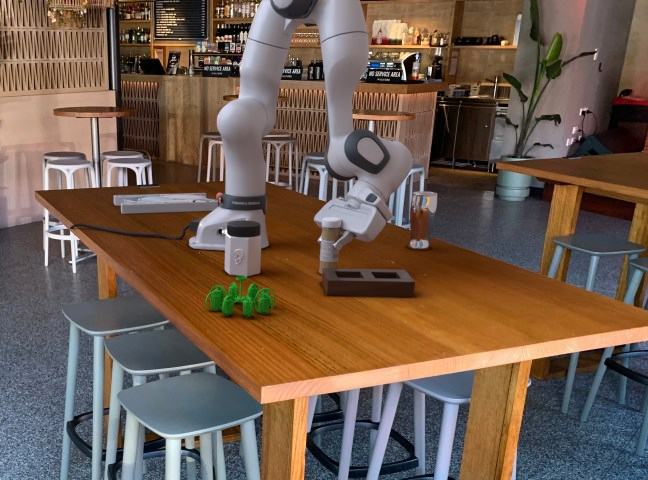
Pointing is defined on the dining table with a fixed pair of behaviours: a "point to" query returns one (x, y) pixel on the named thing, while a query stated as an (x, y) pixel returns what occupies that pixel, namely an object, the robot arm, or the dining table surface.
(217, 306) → the chandelier
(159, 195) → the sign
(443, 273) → the dining table surface
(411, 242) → the beer glass
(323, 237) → the sprinkles bottle
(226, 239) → the jar
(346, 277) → the holder
